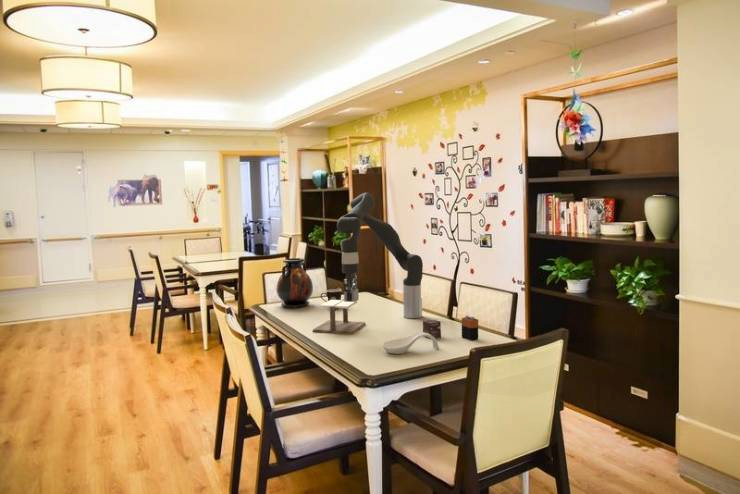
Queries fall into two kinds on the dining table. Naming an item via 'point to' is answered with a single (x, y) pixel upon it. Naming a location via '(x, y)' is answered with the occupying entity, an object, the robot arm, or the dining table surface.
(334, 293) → the coffee mug
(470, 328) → the battery
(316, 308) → the dining table surface
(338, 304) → the trapdoor
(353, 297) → the gray cube
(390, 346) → the spoon rest
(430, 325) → the box
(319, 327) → the stand
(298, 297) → the amphora vase
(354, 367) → the dining table surface
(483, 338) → the dining table surface
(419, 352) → the dining table surface
